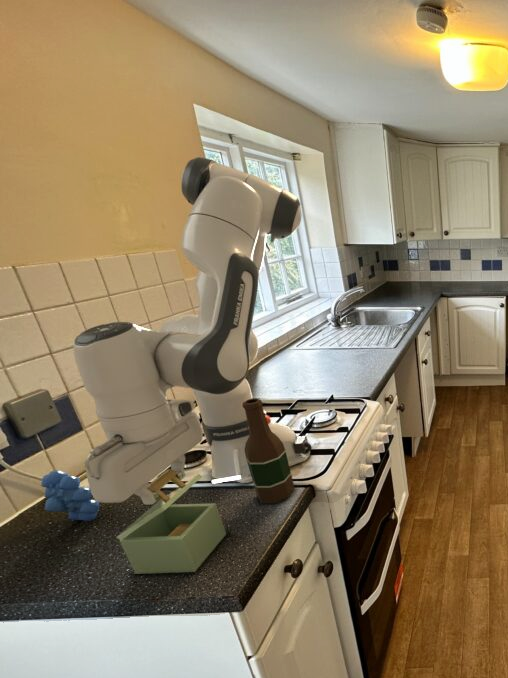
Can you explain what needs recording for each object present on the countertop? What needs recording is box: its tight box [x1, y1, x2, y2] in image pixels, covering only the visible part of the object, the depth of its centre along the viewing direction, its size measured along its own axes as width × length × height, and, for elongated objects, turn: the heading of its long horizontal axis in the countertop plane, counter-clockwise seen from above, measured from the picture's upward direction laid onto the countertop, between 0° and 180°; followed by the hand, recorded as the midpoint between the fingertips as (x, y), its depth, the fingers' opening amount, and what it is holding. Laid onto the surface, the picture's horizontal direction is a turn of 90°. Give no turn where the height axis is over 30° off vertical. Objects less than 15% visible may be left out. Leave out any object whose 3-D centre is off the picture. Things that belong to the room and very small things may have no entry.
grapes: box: [40, 470, 100, 522], centre depth 85 cm, size 12×7×12 cm, turn 77°
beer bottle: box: [242, 397, 295, 504], centre depth 91 cm, size 8×8×24 cm
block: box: [168, 523, 192, 536], centre depth 78 cm, size 4×4×4 cm
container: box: [119, 503, 227, 575], centre depth 78 cm, size 11×10×8 cm
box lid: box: [116, 468, 203, 541], centre depth 74 cm, size 11×10×5 cm
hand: (166, 490), depth 73 cm, fingers closed on box lid, 5 cm apart
